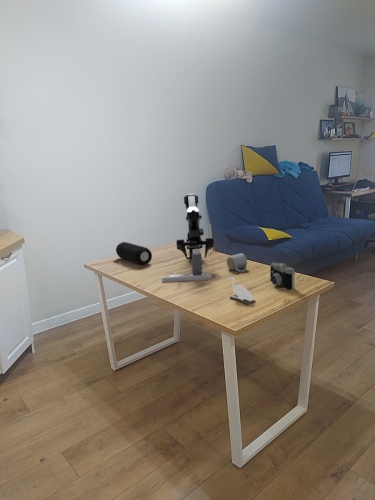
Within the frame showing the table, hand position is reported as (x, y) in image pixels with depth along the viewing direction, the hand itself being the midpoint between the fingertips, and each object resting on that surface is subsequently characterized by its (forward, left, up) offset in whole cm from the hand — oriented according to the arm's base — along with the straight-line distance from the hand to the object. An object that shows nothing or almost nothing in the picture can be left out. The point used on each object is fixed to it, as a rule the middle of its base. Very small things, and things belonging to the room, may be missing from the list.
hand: (196, 258), depth 177 cm
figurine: (+38, -4, -8) cm, 39 cm away
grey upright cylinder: (+4, -2, -7) cm, 9 cm away
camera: (+36, +20, -8) cm, 42 cm away
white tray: (+2, -7, -8) cm, 11 cm away
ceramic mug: (+7, +20, -8) cm, 23 cm away
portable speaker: (-43, -16, -8) cm, 46 cm away
